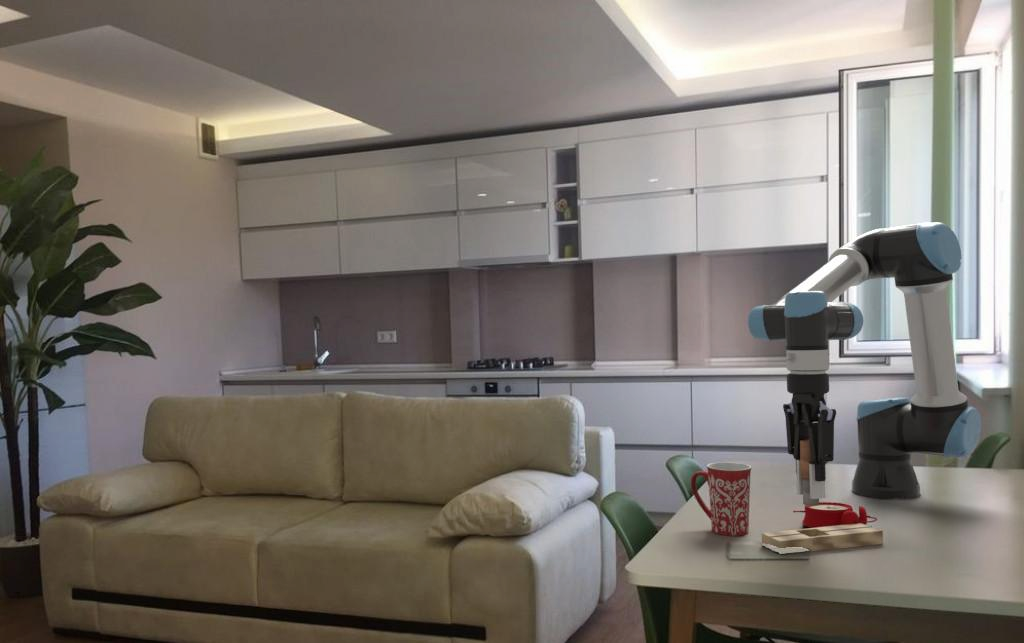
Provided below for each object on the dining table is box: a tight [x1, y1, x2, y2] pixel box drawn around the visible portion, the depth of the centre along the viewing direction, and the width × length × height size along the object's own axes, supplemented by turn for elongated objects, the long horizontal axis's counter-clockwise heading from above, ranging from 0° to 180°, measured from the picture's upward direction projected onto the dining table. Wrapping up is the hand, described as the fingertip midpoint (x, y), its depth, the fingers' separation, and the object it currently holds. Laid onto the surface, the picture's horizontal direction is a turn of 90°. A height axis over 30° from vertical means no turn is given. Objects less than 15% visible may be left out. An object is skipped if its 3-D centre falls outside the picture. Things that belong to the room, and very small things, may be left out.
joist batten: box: [761, 522, 884, 553], centre depth 147 cm, size 22×6×3 cm, turn 104°
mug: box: [690, 461, 752, 537], centre depth 160 cm, size 13×9×14 cm
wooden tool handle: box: [800, 440, 820, 506], centre depth 147 cm, size 3×3×12 cm
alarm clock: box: [792, 501, 878, 528], centre depth 158 cm, size 10×6×15 cm
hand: (811, 495), depth 147 cm, fingers closed on wooden tool handle, 3 cm apart
